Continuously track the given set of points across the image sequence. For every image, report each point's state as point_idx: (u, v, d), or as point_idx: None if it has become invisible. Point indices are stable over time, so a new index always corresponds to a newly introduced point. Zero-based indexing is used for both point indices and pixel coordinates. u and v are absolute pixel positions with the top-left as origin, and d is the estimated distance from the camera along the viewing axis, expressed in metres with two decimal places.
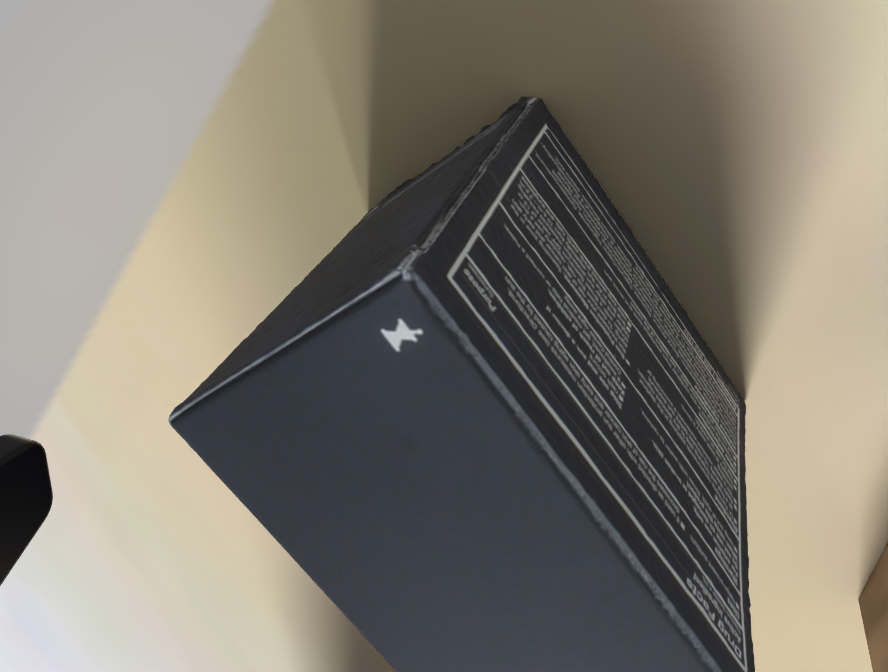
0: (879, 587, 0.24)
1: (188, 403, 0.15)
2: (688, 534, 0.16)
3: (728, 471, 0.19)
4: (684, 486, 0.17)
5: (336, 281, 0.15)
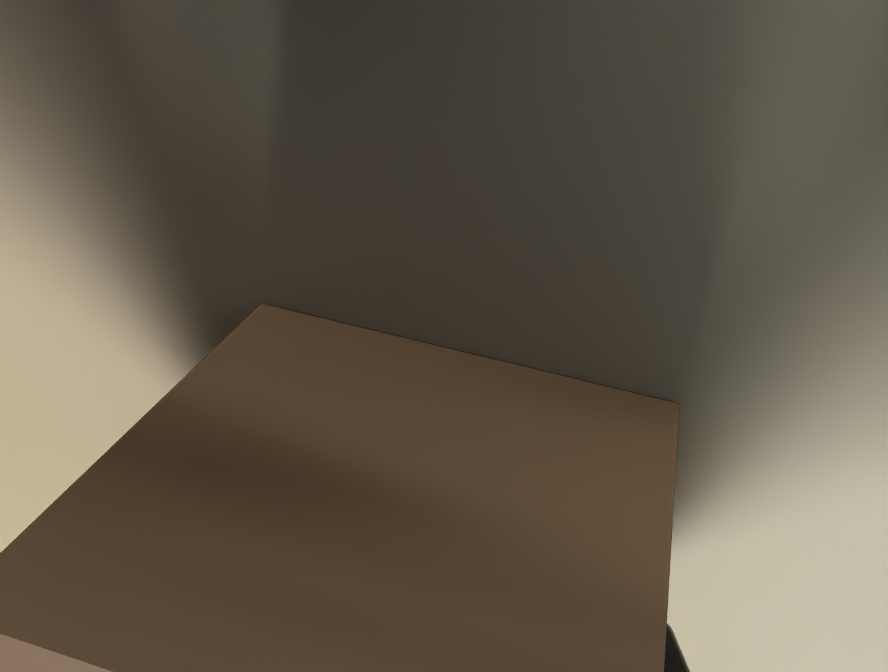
0: None
1: None
2: None
3: None
4: None
5: None
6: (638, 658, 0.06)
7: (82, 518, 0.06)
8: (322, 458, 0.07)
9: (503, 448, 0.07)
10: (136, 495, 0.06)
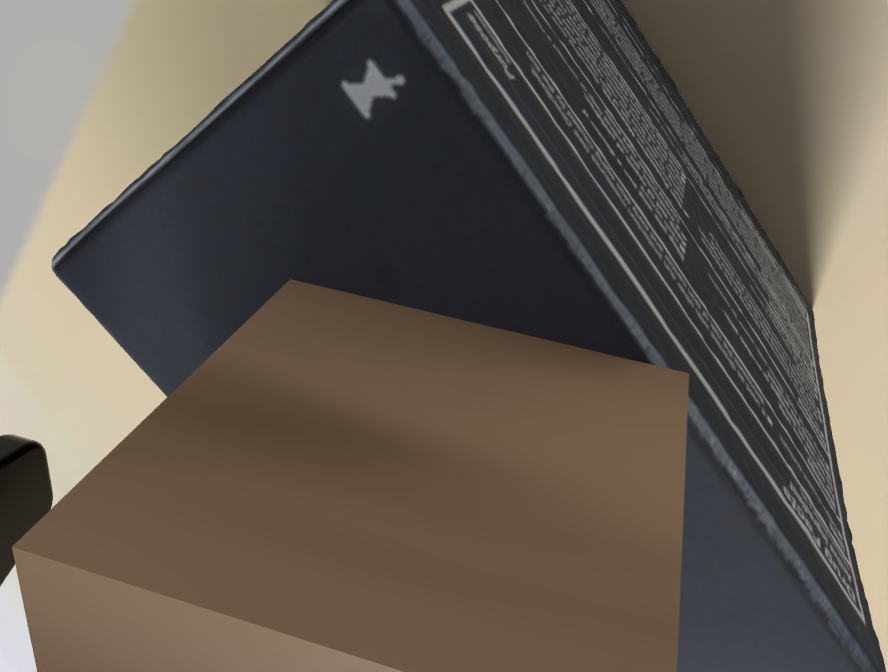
0: None
1: (75, 237, 0.10)
2: (777, 432, 0.11)
3: (807, 375, 0.15)
4: (764, 375, 0.12)
5: None
6: (656, 594, 0.06)
7: (137, 467, 0.07)
8: (355, 419, 0.07)
9: (524, 411, 0.08)
10: (185, 448, 0.07)
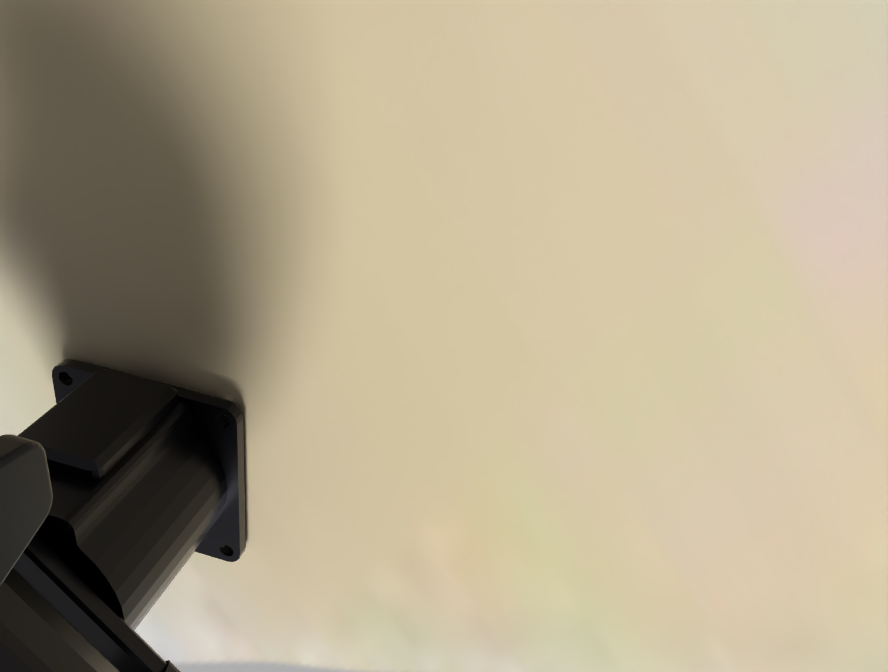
0: None
1: None
2: None
3: None
4: None
5: None
6: None
7: None
8: None
9: None
10: None
